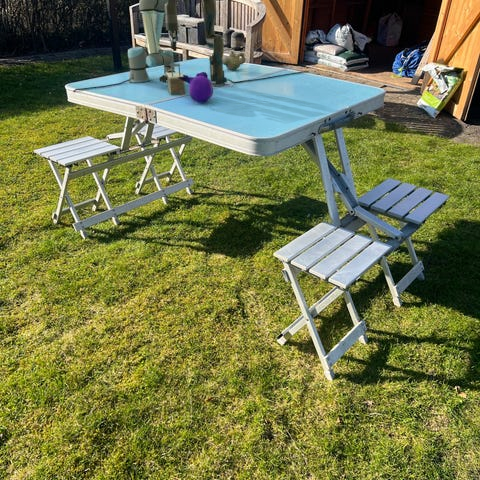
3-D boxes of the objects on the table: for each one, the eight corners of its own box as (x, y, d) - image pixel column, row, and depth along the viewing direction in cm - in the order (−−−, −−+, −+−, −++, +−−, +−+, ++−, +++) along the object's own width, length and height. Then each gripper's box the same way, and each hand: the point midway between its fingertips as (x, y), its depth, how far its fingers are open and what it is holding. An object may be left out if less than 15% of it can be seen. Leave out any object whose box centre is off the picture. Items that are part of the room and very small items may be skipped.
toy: (201, 94, 296) (213, 108, 275) (175, 89, 289) (185, 104, 268) (206, 69, 288) (219, 82, 267) (180, 64, 281) (191, 77, 260)
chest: (184, 94, 299) (183, 77, 293) (171, 95, 297) (169, 78, 292) (181, 89, 312) (180, 73, 307) (168, 90, 311) (166, 74, 305)
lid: (183, 77, 293) (182, 63, 289) (169, 78, 291) (168, 64, 287) (180, 73, 307) (179, 59, 303) (166, 74, 305) (165, 60, 301)
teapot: (225, 72, 363) (224, 52, 355) (218, 70, 371) (218, 50, 364) (248, 69, 372) (247, 50, 364) (241, 67, 381) (240, 48, 373)
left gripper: (188, 79, 330) (193, 85, 312) (154, 81, 324) (157, 87, 307) (188, 68, 326) (193, 73, 308) (153, 70, 320) (156, 76, 303)
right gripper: (179, 22, 272) (181, 51, 280) (176, 20, 284) (178, 48, 292) (166, 23, 271) (169, 52, 279) (164, 21, 283) (166, 49, 291)
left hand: (175, 80), depth 307 cm, fingers open, 13 cm apart
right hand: (173, 50), depth 286 cm, fingers open, 8 cm apart
